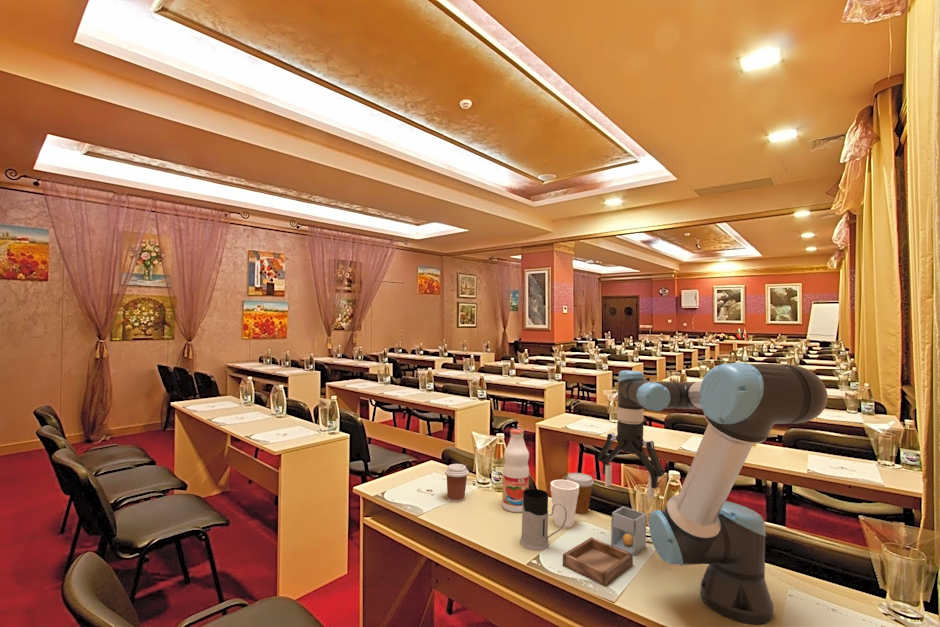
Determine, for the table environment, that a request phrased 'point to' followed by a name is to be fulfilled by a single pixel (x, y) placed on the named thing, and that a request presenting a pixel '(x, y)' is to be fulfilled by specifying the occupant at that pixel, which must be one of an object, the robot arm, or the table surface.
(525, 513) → the grey mug
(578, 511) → the disposable coffee cup
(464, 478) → the coffee cup
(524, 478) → the fruit juice
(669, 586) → the table surface
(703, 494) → the robot arm
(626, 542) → the ball
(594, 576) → the tray
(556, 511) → the foam cup
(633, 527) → the grey frame
